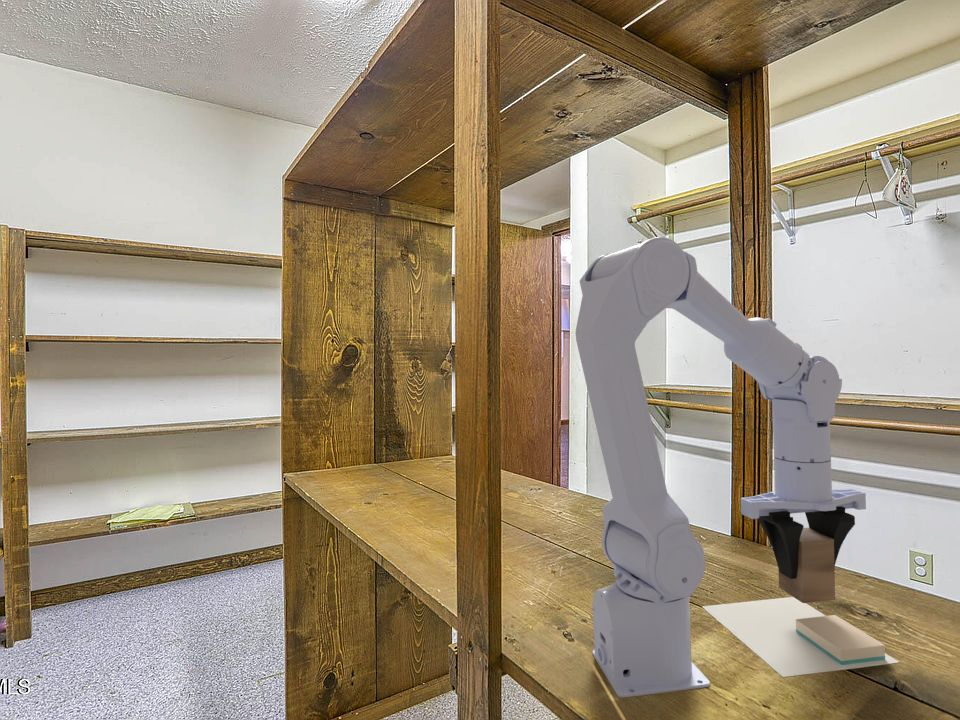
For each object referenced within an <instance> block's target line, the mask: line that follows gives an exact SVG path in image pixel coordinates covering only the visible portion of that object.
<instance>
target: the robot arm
mask: <svg viewBox="0 0 960 720" xmlns="http://www.w3.org/2000/svg"><path fill="white" fill-rule="evenodd" d="M697 265H698V264H697V259H696V258H695V257H694V256H693V255H692V254H690V253H688V252H686V251H684V250H683V249H682V247H681V246H680V245H679V244H678V243H677V242H676V241H674V240H673V239H671V238H668V237H664V236H657V237H652V238H650V239H648V240H645V241H643V242H641V243H639V244H635V245H633V246H630V247H627V248H625V249H622V250H618V251H616V252H613V253H606V254H603V255H600V256H599V257H597V258H596V259H594V261H593V262H592V263H591V264H590V265H589V267H588V268H587V270H586V271H585V272H584V273H583V275H582V276H581V278H580V279H579V284H580V285H579V286H580V289H581V290H580V291H581V295H582V297H581V301H580V307H579V312H578V317H577V322H576V327H575V341H576V345H577V349H578V355H579V358H580V362H581V367H582V370H583V375H584V380H585V384H586V390H587V393H588V397H589V402H590V405H591V411H592V415H593V420H594V423H595V427H596V432H597V436H598V441H599V444H600V450H601V453H602V458H603V463H604V466H605V471H606V475H607V480H608V484H609V489H610V493H611V496H612V498H611V499H609V501H608V502H607V503H606V504H605V505H604V506H603V507H602V509H601V513H602V516H603V517H602V518H603V529H602V535H601V546H602V550H603V553H604V556H605V557H606V558H607V560H608V561H609V562H610V563H611V564H612V565H613V575H614V577H615V580H616V581H615V582H613V583H611V584H610V585H608V586H606V587H602V588H599V589H596V590H594V592H593V596H592V597H593V598H592V619H593V644H594V645H593V648H594V649H593V650H592V656H593V658H594V659H595V660H596V662H597V663H598V666H599V667H600V669H601V671H602V672H603V674H604V676H605V677H606V678H607V681H608V683H609V684H610V685H611V687H612V689H613V690H614V692H615V694H616V696H617V697H619V698H629V697H639V696H647V695H654V694H661V693H663V694H664V693H668V692H669V693H671V692H679V691H686V690H687V691H688V690H691V689H692V690H694V689H695V690H696V689H700V688H701V689H702V688H708V687H711V681H710V679H708V678H707V676H705V674H703V672H702V671H701V670H700V669H699V668H698V667H697V666H696V664H694V662H693V661H692V641H691V640H692V639H691V637H692V636H691V634H692V633H691V611H690V609H691V608H690V606H691V605H690V597H692V596H694V591H695V590H697V588H698V587H699V585H700V584H701V582H702V579H703V577H704V574H705V571H706V555H705V551H704V549H703V546H702V545H701V543H700V542H699V540H698V539H697V538H696V537H695V535H694V534H693V531H692V529H691V525H690V524H691V523H690V521H689V518H688V517H687V515H686V514H685V512H684V511H683V510H682V508H680V506H679V505H678V503H676V501H674V499H673V498H672V497H671V496H670V494H669V492H668V490H667V485H666V481H665V477H664V472H663V466H662V464H661V458H660V454H659V453H660V452H659V449H658V444H657V441H656V440H657V439H656V435H655V431H654V427H653V423H652V419H651V413H650V408H649V405H648V399H647V395H646V390H645V386H644V380H643V377H642V371H641V368H640V364H639V359H638V354H637V350H636V346H635V345H636V341H637V340H638V338H639V336H640V335H641V333H642V332H643V330H644V329H645V328H646V326H647V325H648V324H649V322H650V321H652V320H653V319H654V318H655V317H657V316H658V315H660V313H661V312H663V311H664V310H665V309H673V310H674V311H676V312H678V313H679V314H681V315H682V316H684V317H685V318H687V319H688V320H690V321H691V322H693V323H694V324H696V325H697V326H698V327H700V328H702V329H703V330H705V331H706V332H708V333H709V334H711V335H713V336H714V337H716V338H717V339H718V340H720V341H722V343H723V351H724V355H725V357H726V358H727V359H728V360H730V361H731V362H732V363H734V364H735V365H736V366H737V367H738V368H740V369H741V370H743V371H744V372H746V374H748V375H749V376H751V377H752V378H753V379H754V380H755V381H756V382H757V384H758V386H759V391H760V393H761V395H762V397H763V398H764V400H769V401H770V402H772V403H771V405H772V408H771V409H772V428H773V429H772V433H773V434H772V435H773V436H772V437H773V462H774V463H773V464H774V490H773V491H770V492H769V491H768V492H766V493H761V494H758V495H754V496H747V497H740V514H741V515H743V516H745V517H747V518H749V519H752V520H756V519H757V521H758V523H759V525H760V526H761V528H762V530H763V531H764V533H765V535H766V537H767V539H768V541H769V544H770V546H771V549H772V552H773V555H774V557H775V561H776V564H777V568H778V573H779V572H780V573H781V574H783V575H785V576H786V577H788V578H790V579H796V577H797V571H798V546H799V540H800V536H801V533H802V530H803V528H805V526H804V524H802V523H800V522H798V521H795V520H794V516H791V514H802V513H804V515H805V517H806V520H807V524H808V528H810V529H812V530H815V531H817V532H819V533H821V534H824V535H826V536H828V537H830V538H832V539H834V568H835V566H836V563H837V559H838V556H839V554H840V550H841V547H842V545H843V543H844V541H845V540H846V538H847V535H848V534H849V533H850V531H851V530H852V529H853V528H854V526H855V525H856V517H855V515H854V514H851V513H848V512H846V510H848V509H849V510H850V509H855V510H859V511H861V510H867V500H866V492H863V491H859V490H856V489H852V488H850V489H849V488H848V489H833V482H832V480H833V479H832V454H831V453H832V452H831V451H832V450H831V449H832V448H831V425H830V424H831V423H830V422H831V421H832V420H834V416H836V402H837V401H838V398H839V397H840V394H841V390H842V386H843V379H842V378H840V375H839V372H838V369H837V368H836V366H835V365H834V363H832V362H831V361H830V360H828V359H827V358H825V357H824V356H822V355H810V354H809V353H808V352H806V351H805V350H804V349H803V347H802V345H800V344H799V343H798V342H794V341H793V340H791V338H789V337H788V336H787V335H785V333H783V332H782V331H780V329H778V328H777V323H776V322H775V321H774V320H773V319H772V318H762V317H751V318H747V317H746V316H745V315H744V314H743V313H742V312H741V311H740V310H739V309H738V308H736V306H735V305H733V304H732V303H731V302H730V301H729V300H728V299H727V298H726V297H725V296H724V295H723V294H722V293H720V291H719V290H718V289H716V288H715V287H714V286H713V285H712V284H711V283H710V282H709V281H708V280H707V279H706V278H705V277H704V276H702V274H701V273H700V272H699V271H698V267H697Z"/></svg>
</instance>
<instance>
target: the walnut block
mask: <svg viewBox="0 0 960 720" xmlns="http://www.w3.org/2000/svg"><path fill="white" fill-rule="evenodd" d="M835 570H836V569H835V567H834V539H832V538H830V537H828V536H826V535H824V534H821V533H819V532H817V531H815V530H812V529H810V528H809V527H803V530H802V533H801V536H800V540H799V546H798V571H797V577H796V579H790V578H788V577H786V576H785V575H783V574H781V573H780V572H779V571H778V589H781V591H783V592H785V593H786V594H788V595H790V597H794V598H796V599H797V600H799V601H800V602H802V603H806V604H810V603H816V602H818V603H819V602H828V601H836V581H835V580H836V577H835V576H836V574H835V573H836V572H835Z"/></svg>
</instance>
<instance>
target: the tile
mask: <svg viewBox="0 0 960 720" xmlns="http://www.w3.org/2000/svg"><path fill="white" fill-rule="evenodd" d="M796 633H798V634H799V635H800V636H802V637H803V638H805V639H806V640H807V641H809V642H810V643H812V644H813V645H814V646H816V647H817V648H818V649H820V650H821V651H823V652H824V653H825V654H827V655H828V656H830V657H831V658H832V659H834V660H835V661H837V662H838V663H839V664H841V665H846V664H854V663H862V662H870V661H878V660H885V653H886V645H885V644H884V643H882V642H880V641H879V640H877V639H875V638H874V637H872V636H870V635H869V634H868V633H865V632H864V631H862V630H860V629H859V628H858V627H856V626H855V625H852V624H851V623H849V622H848V621H846V620H845V619H842V618H841V617H839V616H838V615H836V614H833V615H825V616H821V617H812V618H803V619H796Z"/></svg>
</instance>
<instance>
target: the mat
mask: <svg viewBox="0 0 960 720" xmlns="http://www.w3.org/2000/svg"><path fill="white" fill-rule="evenodd" d="M701 608H702V609H703V610H705V611H706V612H707V613H708V614H709V615H710V616H712V618H714V619H715V620H717V622H719V623H720V624H721V626H723V627H724V628H725V629H727V630H728V631H729V632H730V633H731V634H732V635H734V636H735V637H736V638H737V639H738V640H739V641H740V642H741V643H743V644H744V645H745V646H747V647H748V649H750V650H751V652H753V653H754V654H755V655H757V656H758V658H760V659H761V660H762V661H763V662H765V664H767V665H768V666H769V667H770V668H772V670H774V671H775V672H776V673H777V674H779V676H781V677H782V678H789V677H796V676H803V675H813V674H821V673H828V672H829V673H830V672H836V671H843V670H851V669H859V668H860V669H861V668H867V667H868V668H869V667H875V666H876V667H877V666H883V665H892V664H899V663H900V661H899V660H897V659H895V658H894V657H892V656H891V655H889V654H888V653H886V652H885V660H878V661H870V662H862V663H854V664H846V665H841V664H839V663H838V662H837V661H835V660H834V659H832V658H831V657H830V656H828V655H827V654H825V653H824V652H823V651H821V650H820V649H818V648H817V647H816V646H814V645H813V644H812V643H810V642H809V641H807V640H806V639H805V638H803V637H802V636H800V635H799V634H798V633H796V619H803V618H812V617H821V616H826V615H825V614H824V613H822V612H821V611H819V610H818V609H816V608H814V607H813V606H811V605H809V603H802V602H800V601H799V600H797V599H796V598H794V597H793V596H789V597H779V598H770V599H761V600H760V599H758V600H751V601H740V602H731V603H721V604H713V605H712V604H711V605H703V606H702V605H701Z"/></svg>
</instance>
